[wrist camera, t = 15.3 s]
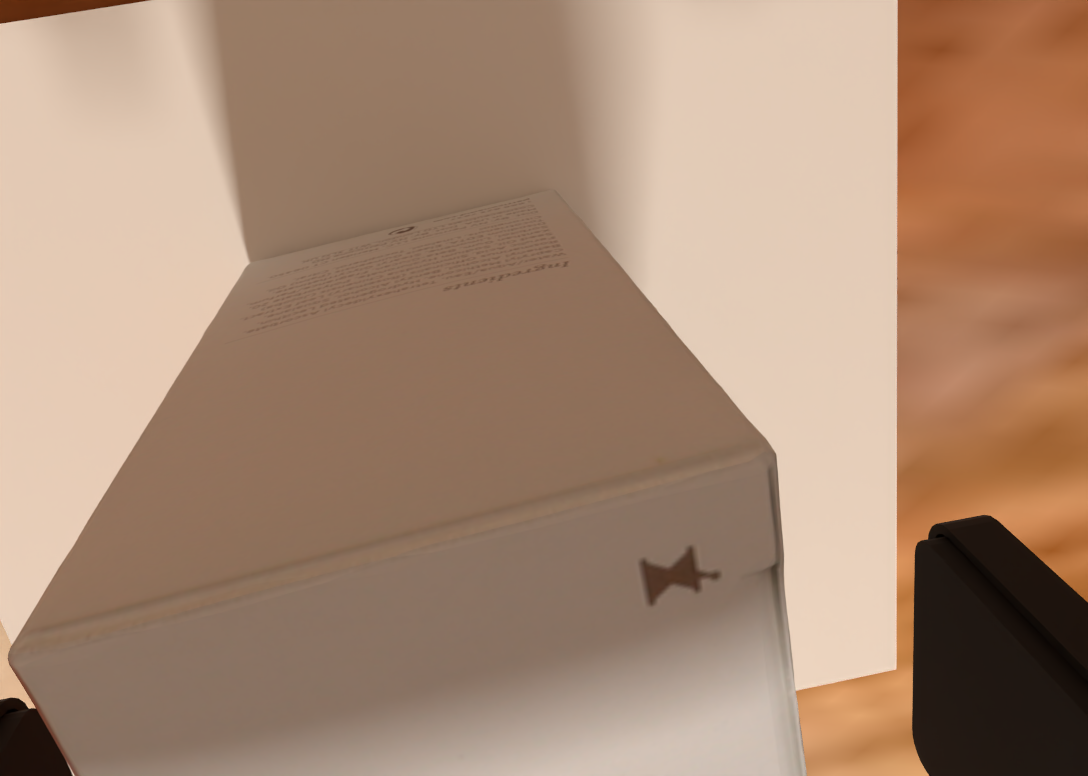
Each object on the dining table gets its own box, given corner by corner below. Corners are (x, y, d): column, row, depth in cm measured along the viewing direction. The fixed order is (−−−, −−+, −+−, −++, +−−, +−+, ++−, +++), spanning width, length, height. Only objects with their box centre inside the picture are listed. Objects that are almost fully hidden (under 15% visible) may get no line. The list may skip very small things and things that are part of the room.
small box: (244, 256, 16) (-36, 636, 6) (560, 180, 16) (788, 428, 6) (375, 630, 19) (330, 1278, 9) (639, 561, 19) (871, 1124, 9)
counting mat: (874, -109, 16) (897, -116, 15) (880, 647, 22) (896, 669, 21) (-221, 61, 14) (-255, 63, 14) (111, 809, 21) (100, 838, 20)
